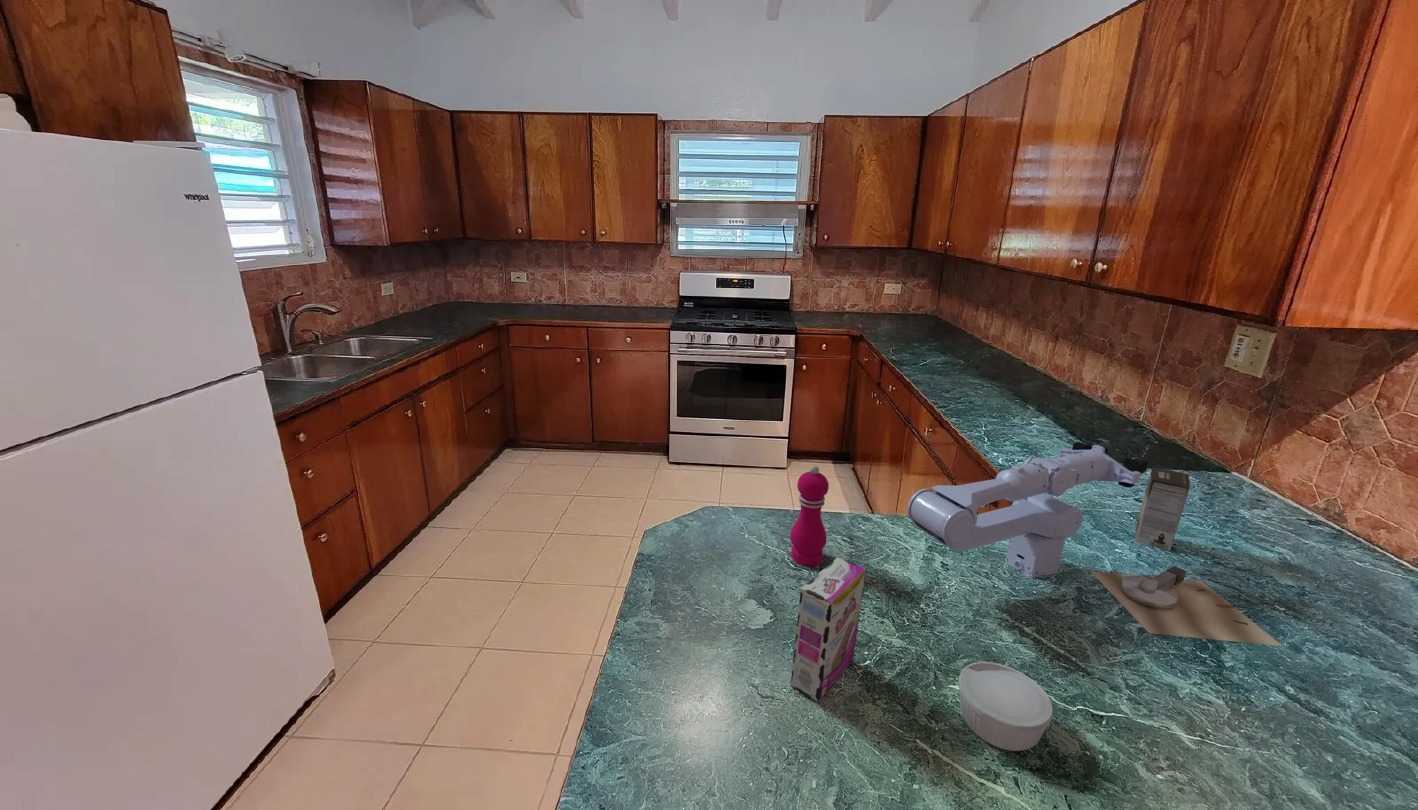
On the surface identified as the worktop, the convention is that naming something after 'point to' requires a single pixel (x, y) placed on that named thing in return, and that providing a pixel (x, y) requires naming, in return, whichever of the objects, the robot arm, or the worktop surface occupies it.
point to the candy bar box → (827, 627)
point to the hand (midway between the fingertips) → (1124, 459)
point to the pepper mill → (809, 519)
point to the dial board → (1190, 613)
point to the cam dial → (1154, 588)
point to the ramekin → (1003, 705)
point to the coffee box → (1162, 508)
